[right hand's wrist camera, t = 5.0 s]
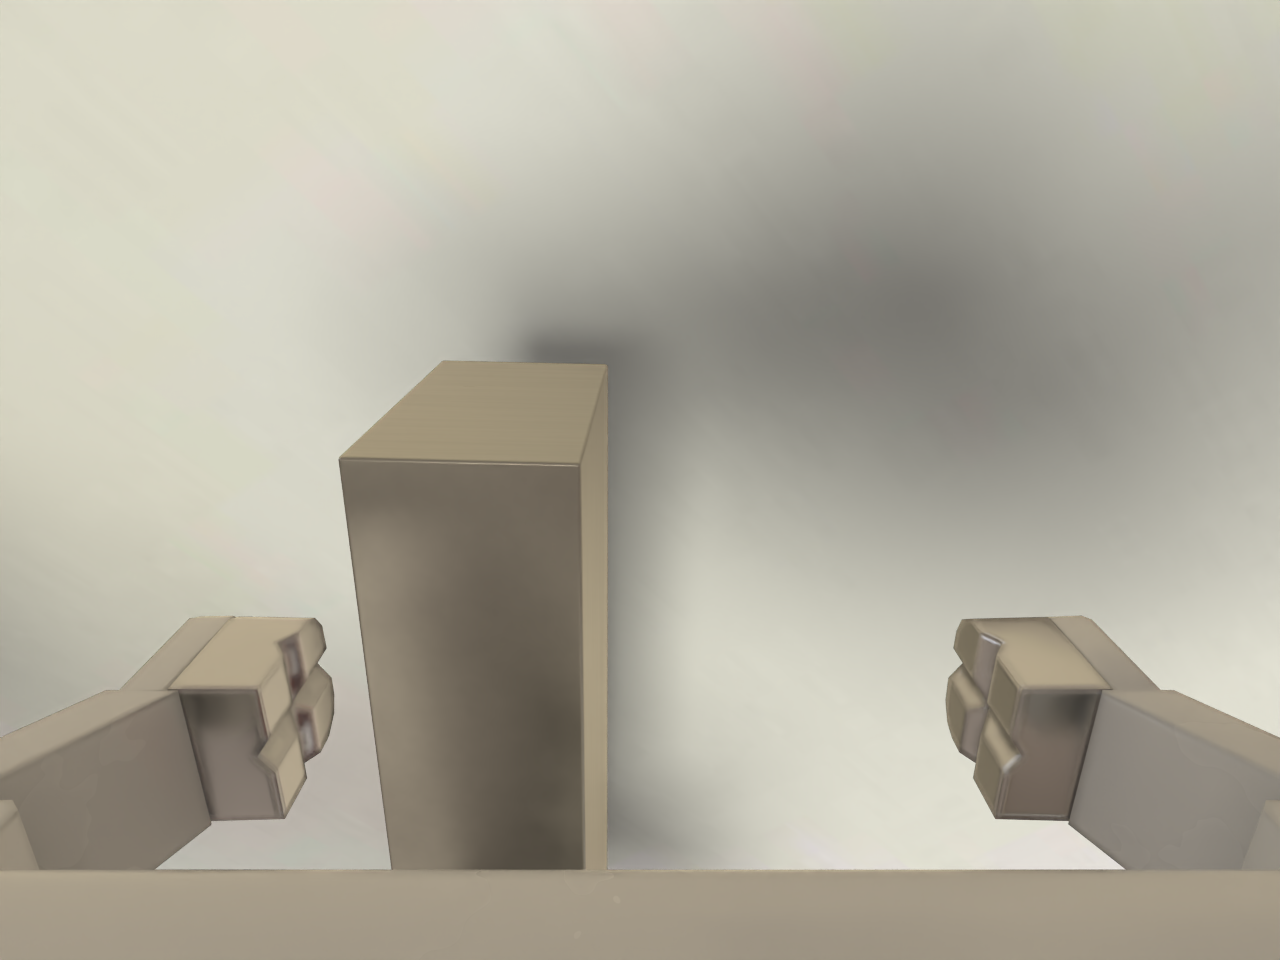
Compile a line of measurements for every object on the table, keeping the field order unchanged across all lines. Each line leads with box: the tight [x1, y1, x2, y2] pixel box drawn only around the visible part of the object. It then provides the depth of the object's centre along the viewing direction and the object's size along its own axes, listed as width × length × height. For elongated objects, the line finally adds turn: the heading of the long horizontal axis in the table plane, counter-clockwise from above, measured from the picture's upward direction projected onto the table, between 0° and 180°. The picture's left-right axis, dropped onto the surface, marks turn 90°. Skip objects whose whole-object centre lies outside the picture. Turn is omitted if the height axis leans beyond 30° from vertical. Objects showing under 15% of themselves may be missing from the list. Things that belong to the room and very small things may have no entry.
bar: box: [339, 361, 608, 870], centre depth 25 cm, size 28×5×8 cm, turn 179°
